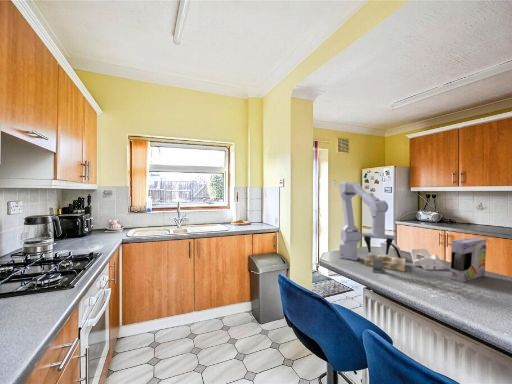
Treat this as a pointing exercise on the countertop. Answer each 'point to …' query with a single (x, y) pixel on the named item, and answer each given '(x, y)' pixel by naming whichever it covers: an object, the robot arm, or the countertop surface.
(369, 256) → the well block
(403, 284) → the countertop surface
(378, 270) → the t bracket
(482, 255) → the cake pan box
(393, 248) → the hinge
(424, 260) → the mounting bracket
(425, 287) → the countertop surface
